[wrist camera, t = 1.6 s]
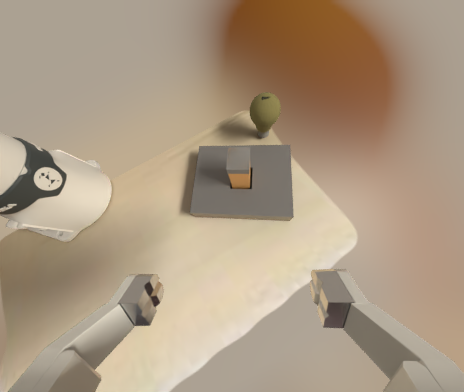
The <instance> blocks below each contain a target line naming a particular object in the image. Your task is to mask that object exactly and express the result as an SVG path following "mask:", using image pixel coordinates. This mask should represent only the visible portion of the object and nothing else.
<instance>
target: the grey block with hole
mask: <svg viewBox="0 0 464 392" xmlns="http://www.w3.org/2000/svg"><path fill="white" fill-rule="evenodd" d="M229 147H250V172H251V180H250V189H233V187H232V184H231V181H230V178H229V175H228V173H227V170H226V166H227V154H228V148H229ZM190 213H191V214H192V215H194V216H195V217H212V218H235V219H259V220H282V221H290V220H291V219H292V218H293V196H292V174H291V153H290V145H252V146H199V153H198V160H197V166H196V173H195V180H194V187H193V194H192V201H191V208H190Z"/></svg>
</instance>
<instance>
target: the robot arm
mask: <svg viewBox="0 0 464 392" xmlns="http://www.w3.org/2000/svg"><path fill="white" fill-rule="evenodd" d="M111 193H112V187H111V182H110V180H109V178H108V177H107V175H106V174H104V173H103V172H102V171H101V168H100V165H99V163H98V162H97V161H94V160H89V161H83V160H80V159H78V158H76V157H74V156H72V155H70V154H67V153H65V152H63V151H60V150H51V151H46V150H44V149H42V148H40V147H39V146H37V145H35V144H33V143H31V142H28V141H24V140H23V139H20V138H15V137H10V136H8V135H6V134H4V133H2V132H0V215H1V216H3V217H6V218H8V219H10V220H9V221H8V223H7V224H6V227H8V228H14V229H28V230H31V231H34V232H37V233H40V234H43V235H45V236H48V237H51V238H54V239H57V240H60V241H65V242H69V241H71V240H72V239H74V238H75V237H76V235H77V234H78V233H79V232H80V231H81V230H83V229H84V228H86V227H88V226H90V225H91V224H93V223H94V222H95V221H96V220H97V219H98V218H99V217H100V216H101V215H102V214H103V213H104V211H105V210H106V208H107V206H108V204H109V201H110V198H111ZM311 276H312V280H311V281H310V290H311V295H312V298H313V301H314V303H315V304H317V305H318V310H317V312H318V315H319V318H320V320H321V323H322V326H323V327H324V328H344V331H346V333H347V334H348V335H349V336H350V337H351V338H352V339H353V340H354V341H355V342H356V344H357V345H358V346H359V347H360V348H361V349H362V350H363V351H364V352H365V353H366V354H367V355H368V356H369V357H370V358H371V360H372V361H373V362H374V363H375V364H376V365H377V366H378V367H379V368H380V369H381V370H382V371H383V372H384V374H385V375H386V376H387V377H388V378H389V379H390V382H389V383H388V384H387V386H386V387H385V389H384V391H383V392H464V373H463V372H462V371H461V370H460V369H459V367H458V366H457V365H456V364H455V363H454V362H453V361H452V360H451V359H449V358H448V357H447V356H445V355H444V354H442V353H441V352H440V351H438V350H437V349H436V348H434V347H433V346H432V345H430V344H429V343H427V342H426V341H425V340H423V339H422V338H420V337H419V336H417V335H416V334H415V333H413V332H412V331H411V330H409V329H408V328H407V327H405V326H404V325H402V324H401V323H400V322H398V321H397V320H395V319H394V318H393V317H391V316H390V315H388V314H387V313H386V312H384V311H383V310H382V309H380V308H379V307H377V306H376V305H375V304H373V303H369V302H368V301H367V299H366V298H365V296H364V295H363V293H362V292H361V290H360V289H359V287H358V286H357V284H356V283H355V281H354V280H353V278H352V277H351V275H350V273H349V272H348V271H347V270H346V269H323V270H312V271H311ZM159 279H160V278H159V277H158V275H157V274H130V275H129V276H127V277H126V279H125V280H124V281H123V283H122V284H121V286H120V287H119V288H118V290H117V291H116V292H115V294H114V295H113V297H112V298H111V299H110V301H109V302H108V304H104V305H103V306H101V307H100V308H99V309H97V310H96V311H94V312H93V313H92V314H90V315H89V316H88V317H86V318H85V319H84V320H82V321H81V322H80V323H78V324H77V325H76V326H74V327H73V328H71V329H70V330H69V331H67V332H66V333H65V334H63V335H62V336H61V337H59V338H58V339H57V340H55V341H54V342H52V343H51V344H50V345H48V346H47V347H46V348H44V350H43V351H42V352H41V353H40V354H39V355H38V357H37V358H36V359H35V360H34V361H33V363H32V364H31V365H30V366H29V367H28V368H27V370H26V371H25V372H24V373H23V374H22V375H21V377H20V378H19V379H18V380H17V381H16V383H15V384H14V385H13V386H12V387H11V388H10V390H9V391H8V392H95V391H96V389H97V387H98V385H99V383H100V381H101V375H100V374H98V373H97V372H96V371H95V369H96V368H97V367H98V366H99V365H100V364H101V362H102V361H103V360H104V359H105V358H106V357H107V356H108V355H109V354H110V353H111V352H112V351H113V350H114V348H115V347H116V346H117V345H118V344H119V343H120V342H121V341H122V340H123V339H124V338H125V337H126V336H127V334H128V333H129V332H130V331H131V330H132V329H133V328H134V326H150V325H151V323H152V320H153V318H154V316H155V314H156V306H157V305H158V304H159V303H160V302H161V300H162V298H163V292H164V289H163V285H162V284H161V283H160V282H159Z"/></svg>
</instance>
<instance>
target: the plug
mask: <svg viewBox="0 0 464 392" xmlns="http://www.w3.org/2000/svg"><path fill="white" fill-rule="evenodd" d="M226 170H227V173H228V175H229V178H230V181H231V184H232V187H233V189H250V180H251V172H250V147H229V148H228V154H227V166H226Z"/></svg>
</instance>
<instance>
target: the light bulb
mask: <svg viewBox="0 0 464 392" xmlns="http://www.w3.org/2000/svg"><path fill="white" fill-rule="evenodd" d="M280 111H281V107H280V102H279V100H278V98H277V97H276V96H275V95H273V94H272V93H267V92H266V93H261V94H259V95H258V96H256V97H255V98H254V100H253V101H252V103H251V106H250V116H251V119H252V121H253V123H254V124H255V125H256V128H257V130H258V136H259V137H261V138H265V137H267V136H268V134H269V130H270V128H271V126H272V125H273V124H274V123H275V122H276V120H277V119H278V117H279V115H280Z"/></svg>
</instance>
